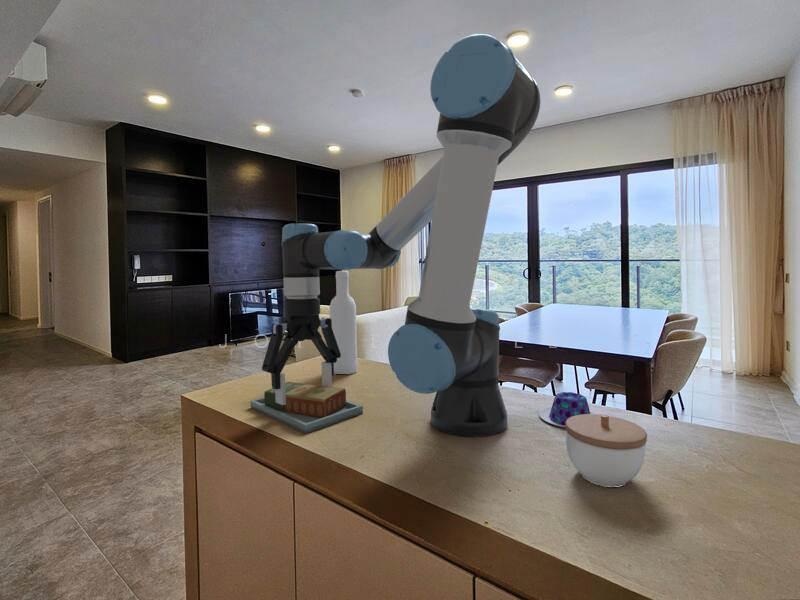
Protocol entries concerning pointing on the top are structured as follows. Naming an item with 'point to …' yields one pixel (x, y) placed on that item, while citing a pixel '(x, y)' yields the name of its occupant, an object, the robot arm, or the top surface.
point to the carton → (308, 399)
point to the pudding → (565, 408)
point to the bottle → (344, 325)
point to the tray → (305, 421)
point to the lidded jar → (605, 448)
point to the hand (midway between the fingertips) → (305, 396)
